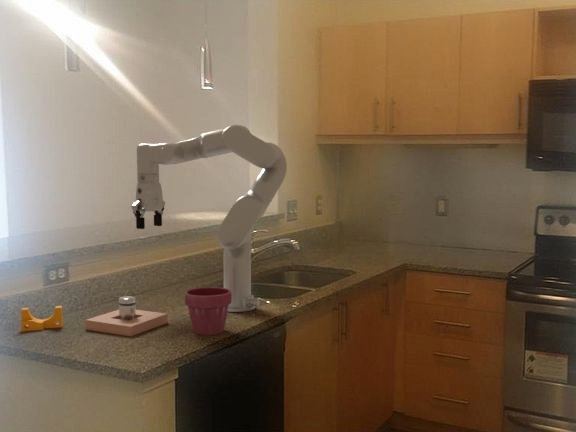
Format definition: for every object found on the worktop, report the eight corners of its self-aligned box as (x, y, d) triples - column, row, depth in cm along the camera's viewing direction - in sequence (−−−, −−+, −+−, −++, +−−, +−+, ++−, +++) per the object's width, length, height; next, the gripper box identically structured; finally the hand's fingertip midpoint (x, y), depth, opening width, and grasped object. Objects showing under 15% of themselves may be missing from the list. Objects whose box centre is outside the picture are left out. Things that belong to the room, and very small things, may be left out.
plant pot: (210, 323, 226) (209, 284, 225) (241, 330, 217) (241, 290, 216) (176, 332, 215) (175, 291, 214) (207, 340, 206) (206, 298, 205)
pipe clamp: (21, 331, 218) (20, 311, 217) (23, 328, 222) (22, 308, 221) (61, 329, 220) (61, 308, 220) (62, 325, 225) (62, 305, 224)
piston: (139, 324, 225) (139, 297, 223) (128, 329, 220) (128, 300, 219) (126, 322, 227) (125, 295, 226) (115, 326, 222) (114, 299, 221)
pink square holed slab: (167, 322, 227) (167, 313, 227) (131, 336, 211) (130, 326, 211) (124, 316, 235) (123, 307, 235) (85, 329, 219) (85, 319, 219)
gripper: (140, 180, 237) (142, 230, 239) (171, 178, 253) (172, 225, 254) (123, 179, 241) (124, 229, 242) (155, 177, 256) (156, 224, 258)
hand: (149, 227), depth 248 cm, fingers open, 9 cm apart
